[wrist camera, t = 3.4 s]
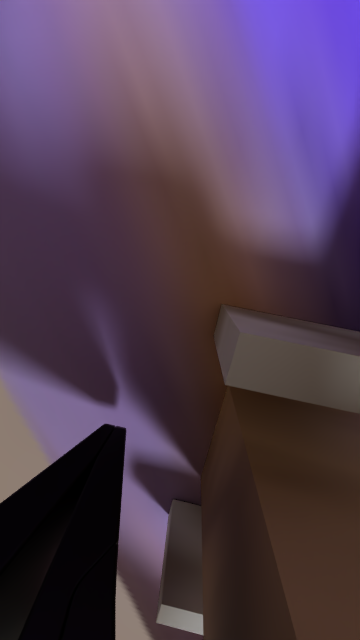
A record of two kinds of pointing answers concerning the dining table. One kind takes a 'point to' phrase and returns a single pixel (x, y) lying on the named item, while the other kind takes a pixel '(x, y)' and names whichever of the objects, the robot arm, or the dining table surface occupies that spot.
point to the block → (281, 521)
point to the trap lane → (270, 378)
